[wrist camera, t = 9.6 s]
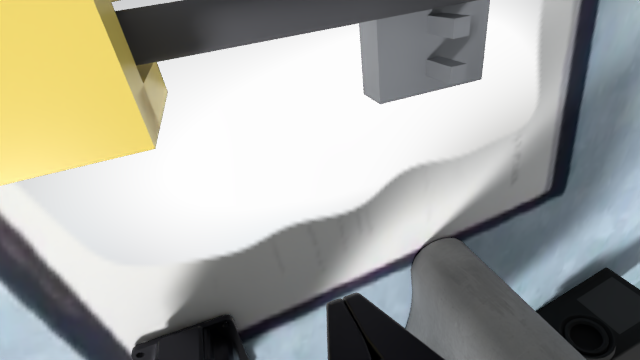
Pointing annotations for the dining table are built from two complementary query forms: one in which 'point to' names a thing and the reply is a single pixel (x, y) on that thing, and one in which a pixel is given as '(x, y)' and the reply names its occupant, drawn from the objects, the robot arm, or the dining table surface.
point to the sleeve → (71, 89)
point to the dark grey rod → (245, 22)
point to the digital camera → (599, 317)
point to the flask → (475, 311)
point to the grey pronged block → (423, 50)
